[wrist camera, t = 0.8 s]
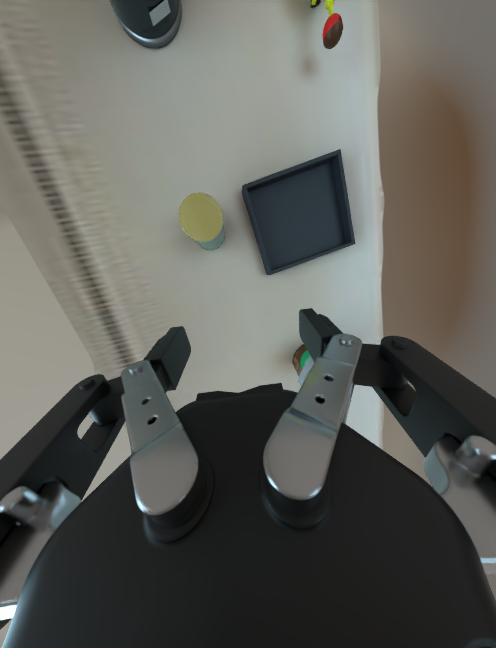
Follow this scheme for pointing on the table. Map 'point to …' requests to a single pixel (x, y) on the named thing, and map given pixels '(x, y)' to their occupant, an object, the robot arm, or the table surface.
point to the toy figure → (330, 25)
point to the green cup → (202, 220)
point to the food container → (302, 363)
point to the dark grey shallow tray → (300, 212)
